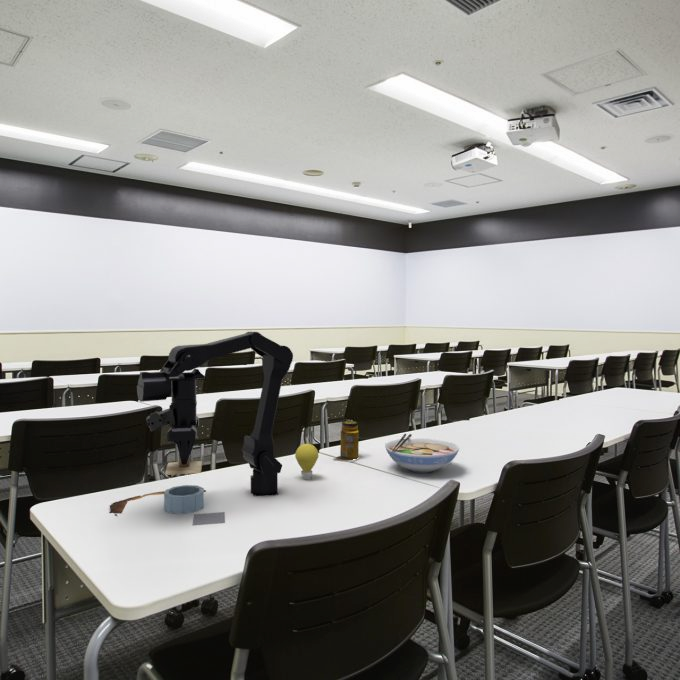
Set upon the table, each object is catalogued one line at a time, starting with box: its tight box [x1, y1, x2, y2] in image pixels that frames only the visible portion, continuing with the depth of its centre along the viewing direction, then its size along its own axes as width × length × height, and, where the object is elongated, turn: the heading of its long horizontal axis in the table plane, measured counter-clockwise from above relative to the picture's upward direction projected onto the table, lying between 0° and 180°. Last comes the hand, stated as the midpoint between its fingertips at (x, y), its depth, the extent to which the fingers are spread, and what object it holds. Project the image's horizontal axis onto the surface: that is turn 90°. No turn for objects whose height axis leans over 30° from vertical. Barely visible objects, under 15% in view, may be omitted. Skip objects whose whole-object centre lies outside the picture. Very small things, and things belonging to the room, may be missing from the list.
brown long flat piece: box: [108, 489, 207, 517], centre depth 137 cm, size 25×10×1 cm, turn 130°
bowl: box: [163, 484, 205, 515], centre depth 131 cm, size 9×9×4 cm
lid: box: [164, 454, 203, 476], centre depth 130 cm, size 8×8×6 cm
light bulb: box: [294, 443, 319, 480], centre depth 157 cm, size 7×7×10 cm
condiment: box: [333, 420, 363, 463], centre depth 180 cm, size 7×8×12 cm
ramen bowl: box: [384, 433, 460, 474], centre depth 167 cm, size 25×23×8 cm
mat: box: [191, 511, 226, 526], centre depth 123 cm, size 7×7×1 cm
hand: (184, 462), depth 130 cm, fingers closed on lid, 2 cm apart
